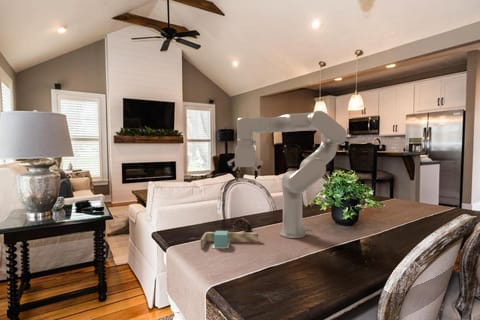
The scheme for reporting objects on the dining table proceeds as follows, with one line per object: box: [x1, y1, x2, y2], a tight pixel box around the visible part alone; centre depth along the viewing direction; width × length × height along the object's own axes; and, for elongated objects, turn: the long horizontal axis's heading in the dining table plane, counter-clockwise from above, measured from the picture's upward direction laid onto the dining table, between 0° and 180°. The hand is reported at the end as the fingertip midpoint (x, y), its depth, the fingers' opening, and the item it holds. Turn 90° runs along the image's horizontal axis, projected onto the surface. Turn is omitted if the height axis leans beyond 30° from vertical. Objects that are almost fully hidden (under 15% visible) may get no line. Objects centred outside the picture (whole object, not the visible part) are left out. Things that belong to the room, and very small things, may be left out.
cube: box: [213, 230, 229, 247], centre depth 122 cm, size 6×6×6 cm
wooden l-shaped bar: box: [200, 231, 259, 250], centre depth 123 cm, size 25×10×4 cm, turn 86°
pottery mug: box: [232, 217, 254, 233], centre depth 141 cm, size 12×10×8 cm
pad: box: [211, 242, 231, 249], centre depth 123 cm, size 7×7×1 cm
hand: (245, 178), depth 133 cm, fingers open, 9 cm apart
